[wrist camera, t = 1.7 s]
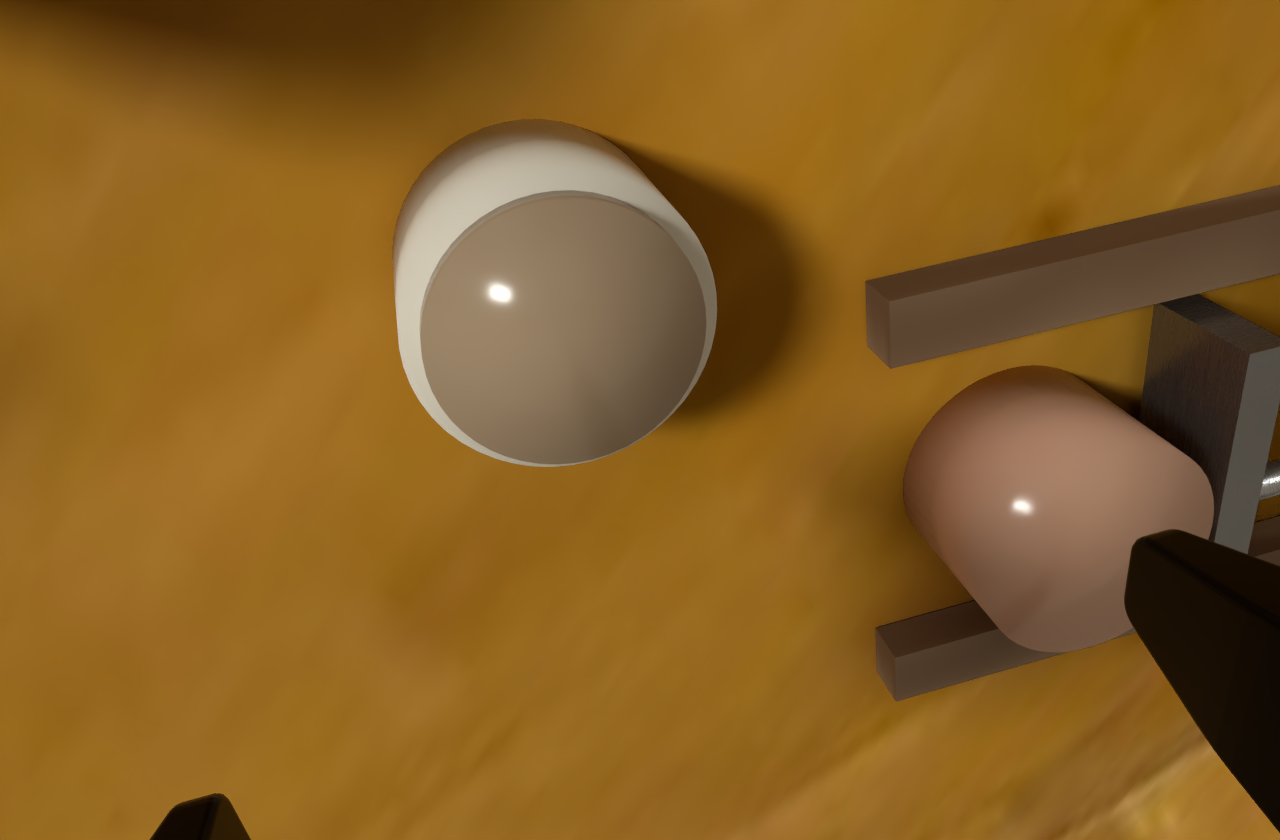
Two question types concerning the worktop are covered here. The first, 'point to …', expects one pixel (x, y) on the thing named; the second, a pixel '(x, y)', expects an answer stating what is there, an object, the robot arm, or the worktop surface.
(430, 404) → the cream jar
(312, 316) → the worktop surface
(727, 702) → the worktop surface
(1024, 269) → the lane
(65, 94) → the worktop surface
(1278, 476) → the pusher
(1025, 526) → the pink rounded piece
